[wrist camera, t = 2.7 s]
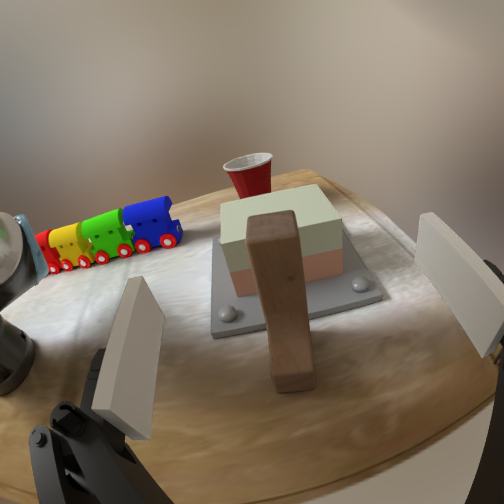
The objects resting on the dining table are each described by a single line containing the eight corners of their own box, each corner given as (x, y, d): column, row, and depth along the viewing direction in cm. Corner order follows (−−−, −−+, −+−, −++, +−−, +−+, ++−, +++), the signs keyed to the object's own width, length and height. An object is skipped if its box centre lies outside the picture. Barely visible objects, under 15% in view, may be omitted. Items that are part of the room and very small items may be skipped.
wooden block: (315, 390, 30) (306, 269, 20) (276, 394, 31) (240, 278, 21) (308, 330, 38) (294, 207, 27) (274, 334, 38) (246, 214, 28)
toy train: (33, 283, 63) (13, 249, 56) (44, 266, 69) (25, 234, 62) (182, 247, 61) (164, 199, 54) (186, 229, 67) (170, 185, 60)
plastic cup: (265, 192, 73) (256, 147, 67) (290, 206, 65) (282, 155, 58) (227, 209, 70) (214, 162, 63) (248, 225, 62) (235, 172, 55)
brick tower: (213, 338, 39) (187, 280, 33) (214, 243, 59) (199, 194, 53) (381, 300, 39) (388, 236, 32) (331, 217, 58) (327, 167, 52)
